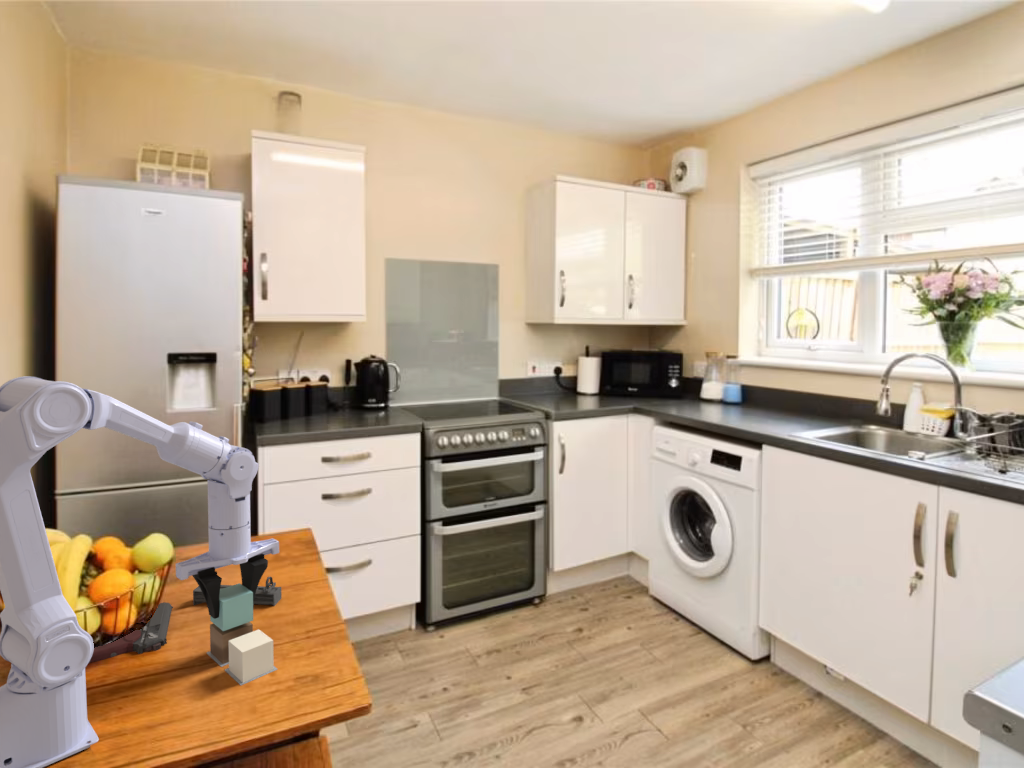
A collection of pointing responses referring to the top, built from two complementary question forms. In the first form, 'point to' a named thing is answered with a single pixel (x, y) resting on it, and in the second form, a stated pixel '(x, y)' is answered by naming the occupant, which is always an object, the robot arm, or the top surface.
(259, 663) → the cream cube
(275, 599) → the light fixture
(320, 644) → the top surface
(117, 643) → the pistol
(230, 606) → the teal cube
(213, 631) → the walnut cube
